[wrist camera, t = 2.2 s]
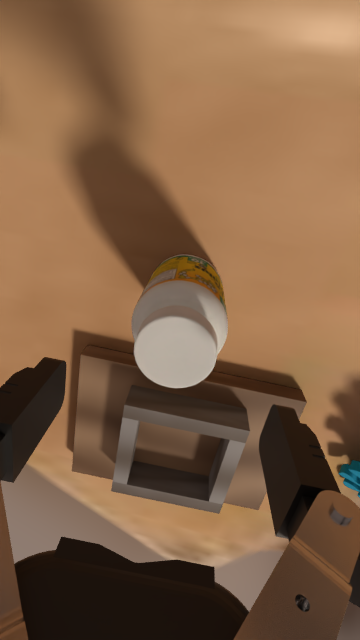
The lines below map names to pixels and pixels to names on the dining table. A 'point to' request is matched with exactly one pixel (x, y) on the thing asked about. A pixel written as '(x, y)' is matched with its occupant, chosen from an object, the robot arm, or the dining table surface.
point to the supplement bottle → (180, 322)
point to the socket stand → (173, 433)
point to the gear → (351, 475)
